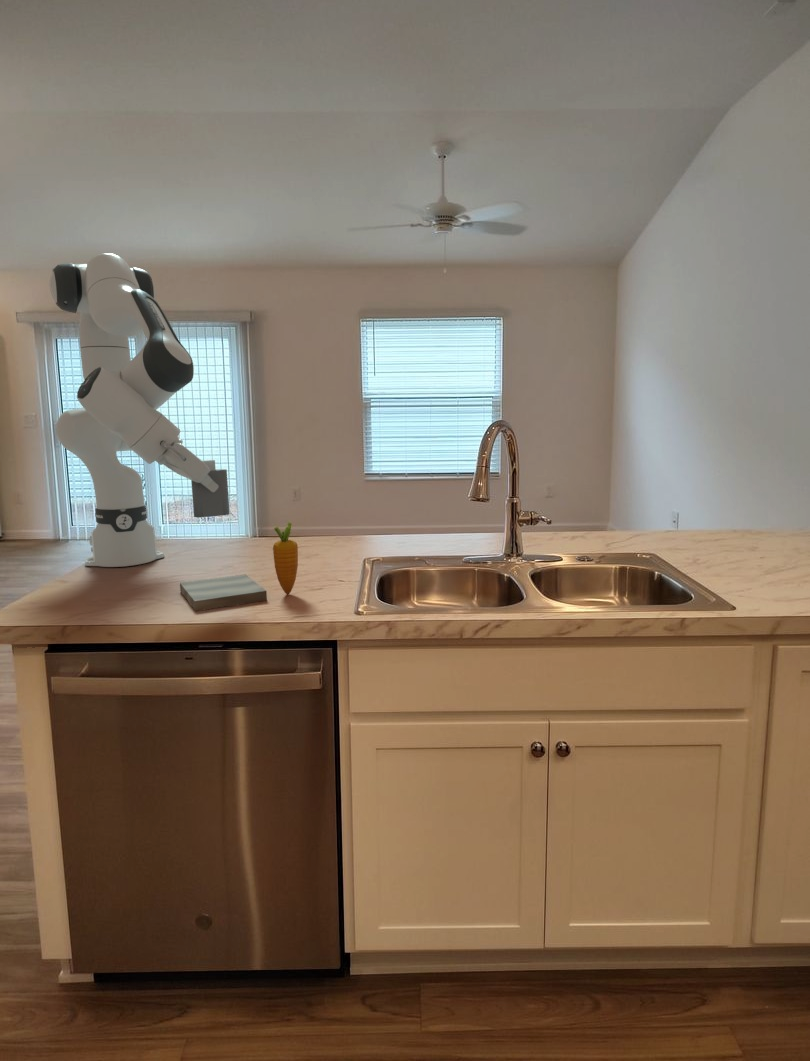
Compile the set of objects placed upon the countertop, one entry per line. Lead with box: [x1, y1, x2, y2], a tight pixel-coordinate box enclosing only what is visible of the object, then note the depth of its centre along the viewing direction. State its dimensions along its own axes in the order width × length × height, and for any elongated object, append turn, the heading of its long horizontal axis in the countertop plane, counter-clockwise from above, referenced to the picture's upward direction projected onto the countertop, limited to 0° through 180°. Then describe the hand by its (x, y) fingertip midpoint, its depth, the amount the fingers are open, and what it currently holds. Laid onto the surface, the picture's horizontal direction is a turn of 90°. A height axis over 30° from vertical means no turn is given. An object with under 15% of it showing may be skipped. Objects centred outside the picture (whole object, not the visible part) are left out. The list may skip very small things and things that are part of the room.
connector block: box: [191, 459, 231, 518], centre depth 134 cm, size 7×3×11 cm, turn 118°
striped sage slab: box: [179, 573, 268, 612], centre depth 138 cm, size 16×14×2 cm
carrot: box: [272, 521, 299, 596], centre depth 137 cm, size 5×5×15 cm
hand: (213, 488), depth 134 cm, fingers closed on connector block, 3 cm apart
